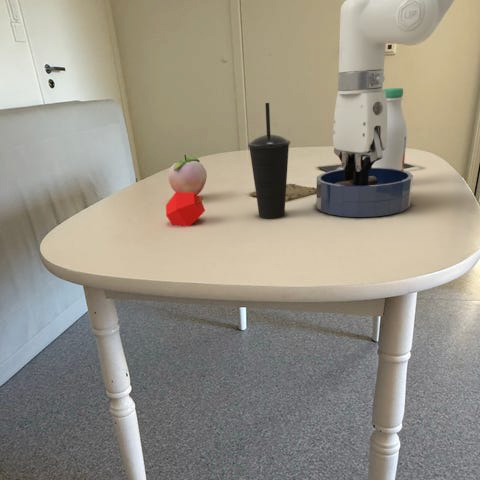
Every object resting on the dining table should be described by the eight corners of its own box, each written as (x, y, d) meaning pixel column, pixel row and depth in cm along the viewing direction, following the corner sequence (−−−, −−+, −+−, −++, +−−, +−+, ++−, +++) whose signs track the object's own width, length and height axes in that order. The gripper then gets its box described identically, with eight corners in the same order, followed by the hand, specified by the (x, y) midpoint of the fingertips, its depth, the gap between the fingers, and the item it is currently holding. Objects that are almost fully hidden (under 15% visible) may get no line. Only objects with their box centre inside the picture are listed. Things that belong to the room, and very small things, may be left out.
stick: (371, 185, 89) (372, 174, 88) (379, 187, 87) (380, 175, 86) (329, 194, 85) (330, 182, 84) (337, 196, 83) (337, 184, 82)
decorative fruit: (183, 194, 110) (177, 151, 105) (213, 195, 107) (209, 151, 102) (164, 204, 102) (157, 158, 97) (196, 205, 99) (190, 158, 94)
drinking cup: (256, 224, 82) (249, 105, 73) (249, 214, 89) (241, 104, 80) (296, 220, 83) (294, 101, 74) (286, 210, 90) (283, 100, 80)
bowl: (366, 192, 98) (367, 164, 95) (429, 208, 84) (433, 175, 81) (299, 207, 91) (298, 177, 89) (356, 226, 77) (357, 191, 75)
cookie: (287, 185, 109) (287, 181, 109) (323, 192, 100) (323, 188, 100) (248, 195, 103) (248, 191, 103) (282, 203, 94) (282, 198, 94)
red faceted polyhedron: (152, 200, 82) (189, 183, 79) (168, 198, 88) (202, 182, 86) (167, 235, 84) (203, 220, 81) (181, 231, 90) (216, 217, 87)
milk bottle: (397, 191, 97) (407, 88, 87) (362, 190, 100) (367, 90, 91) (405, 184, 102) (415, 86, 93) (371, 182, 106) (377, 88, 96)
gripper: (411, 80, 72) (400, 194, 81) (348, 83, 85) (344, 181, 94) (375, 83, 70) (367, 201, 78) (315, 86, 82) (314, 187, 91)
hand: (355, 190), depth 86 cm, fingers closed on stick, 2 cm apart
